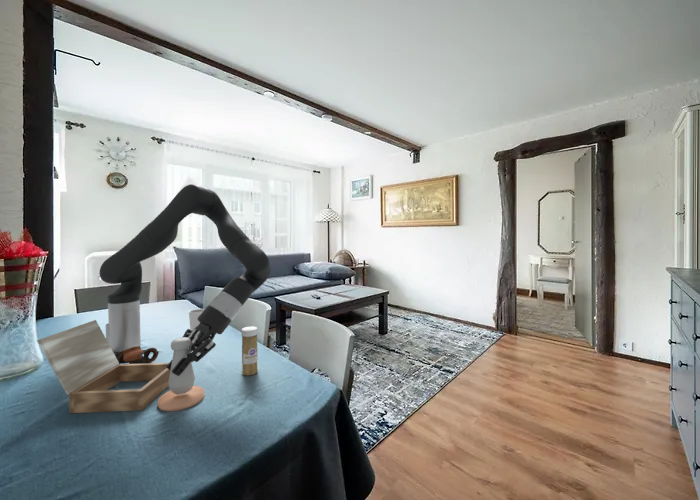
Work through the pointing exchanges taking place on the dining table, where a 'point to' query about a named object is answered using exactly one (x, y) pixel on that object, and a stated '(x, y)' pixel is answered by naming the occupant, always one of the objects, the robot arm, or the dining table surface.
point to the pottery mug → (136, 355)
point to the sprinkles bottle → (249, 350)
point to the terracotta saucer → (180, 399)
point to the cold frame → (99, 372)
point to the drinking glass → (194, 317)
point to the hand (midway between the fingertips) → (172, 371)
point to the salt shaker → (187, 376)
